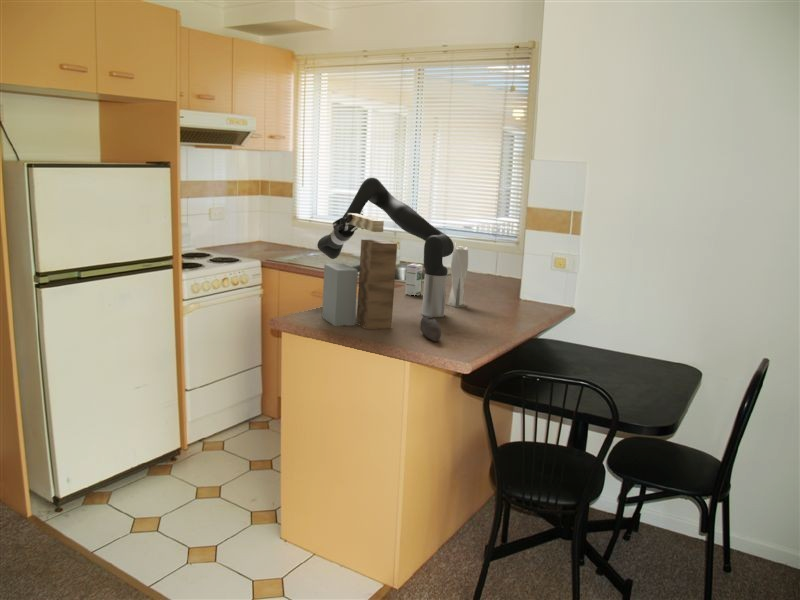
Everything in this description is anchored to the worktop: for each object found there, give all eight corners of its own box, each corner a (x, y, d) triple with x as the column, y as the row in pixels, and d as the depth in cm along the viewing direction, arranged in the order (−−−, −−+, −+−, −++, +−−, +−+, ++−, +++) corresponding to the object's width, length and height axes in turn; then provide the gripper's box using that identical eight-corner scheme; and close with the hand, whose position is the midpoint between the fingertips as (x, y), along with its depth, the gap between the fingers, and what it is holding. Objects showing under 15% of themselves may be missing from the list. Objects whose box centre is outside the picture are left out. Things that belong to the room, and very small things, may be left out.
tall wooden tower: (356, 322, 257) (361, 239, 250) (380, 321, 261) (385, 239, 255) (367, 329, 248) (372, 243, 241) (391, 328, 252) (397, 243, 246)
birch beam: (346, 223, 268) (347, 213, 267) (356, 223, 269) (356, 213, 269) (373, 231, 245) (373, 220, 244) (383, 232, 247) (383, 221, 246)
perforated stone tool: (444, 344, 235) (445, 325, 234) (429, 344, 234) (431, 325, 232) (432, 333, 249) (433, 315, 248) (418, 333, 248) (419, 314, 247)
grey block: (322, 317, 262) (324, 264, 257) (341, 316, 265) (343, 263, 261) (334, 326, 250) (337, 270, 245) (354, 325, 253) (357, 270, 249)
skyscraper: (442, 304, 302) (447, 242, 296) (453, 302, 308) (459, 241, 302) (457, 307, 296) (463, 244, 290) (468, 305, 302) (474, 243, 296)
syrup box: (415, 296, 315) (417, 265, 312) (404, 294, 318) (406, 264, 315) (421, 294, 319) (423, 264, 316) (410, 292, 322) (412, 263, 319)
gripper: (324, 224, 276) (338, 206, 261) (356, 224, 282) (372, 208, 267) (327, 241, 274) (341, 224, 259) (359, 241, 280) (375, 225, 265)
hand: (357, 216), depth 263 cm, fingers closed on birch beam, 4 cm apart
